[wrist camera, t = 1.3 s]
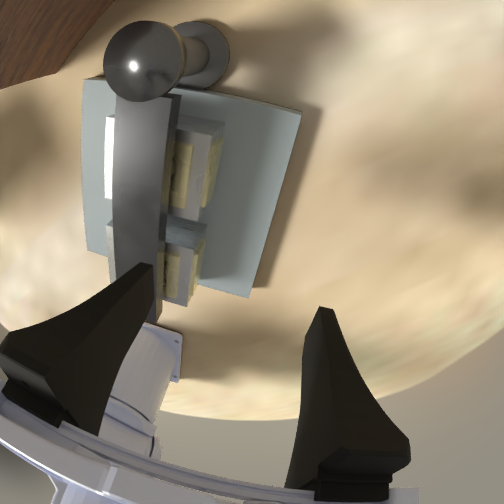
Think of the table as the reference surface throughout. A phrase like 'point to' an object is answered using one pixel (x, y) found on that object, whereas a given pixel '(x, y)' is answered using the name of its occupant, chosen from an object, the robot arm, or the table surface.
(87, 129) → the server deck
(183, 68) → the swing bar
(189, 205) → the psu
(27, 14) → the tissue box cover
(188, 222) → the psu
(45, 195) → the table surface
